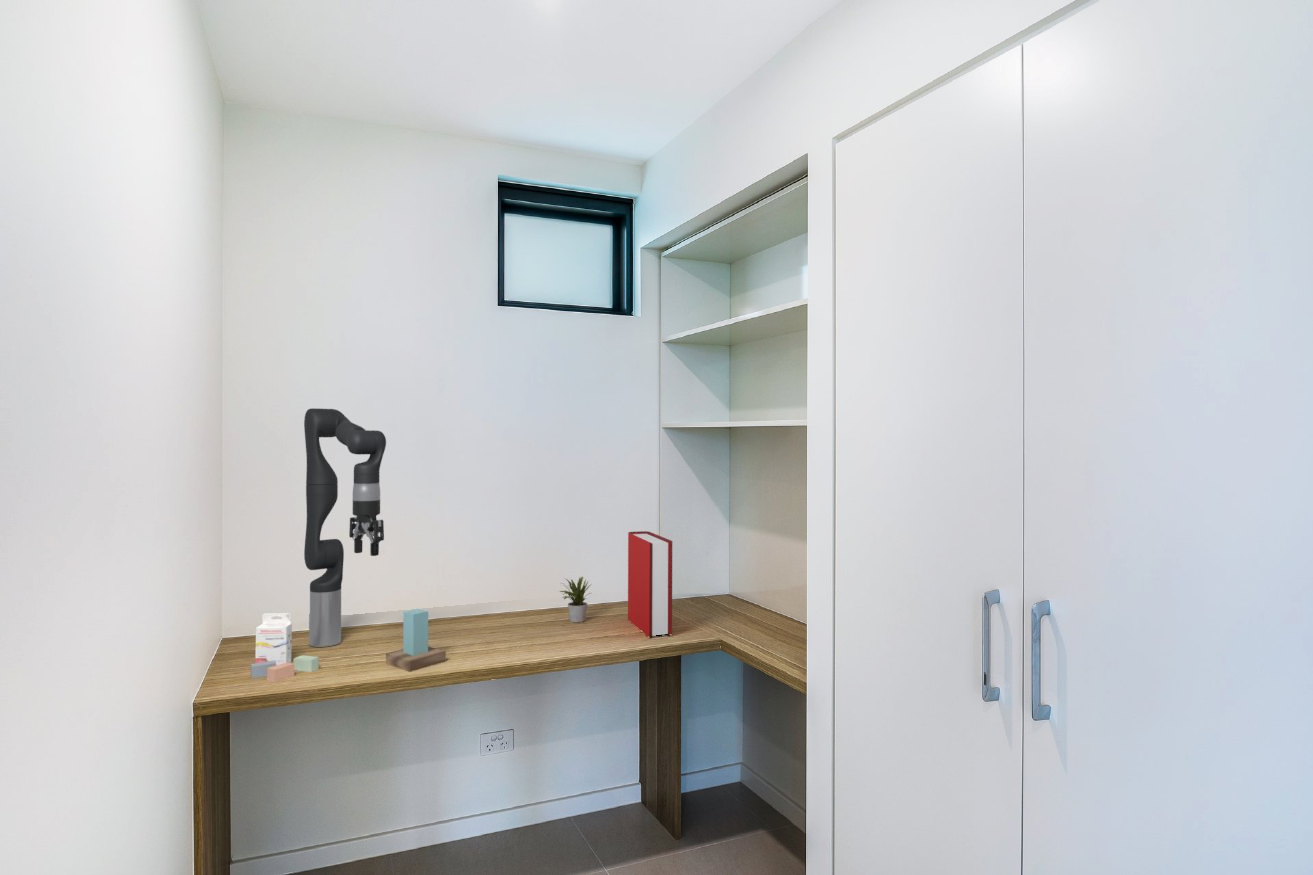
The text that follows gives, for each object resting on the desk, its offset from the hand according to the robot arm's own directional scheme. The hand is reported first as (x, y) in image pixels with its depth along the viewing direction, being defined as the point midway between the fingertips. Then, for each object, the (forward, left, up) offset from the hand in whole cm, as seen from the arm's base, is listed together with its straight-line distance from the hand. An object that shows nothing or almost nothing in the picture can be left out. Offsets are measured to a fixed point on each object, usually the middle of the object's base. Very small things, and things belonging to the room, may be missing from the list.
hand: (366, 554), depth 215 cm
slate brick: (-13, -23, -32) cm, 42 cm away
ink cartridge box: (-20, -17, -32) cm, 42 cm away
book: (+39, +84, -32) cm, 98 cm away
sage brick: (-9, -13, -32) cm, 36 cm away
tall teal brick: (+10, +10, -29) cm, 32 cm away
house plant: (+12, +76, -32) cm, 83 cm away
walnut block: (+10, +10, -32) cm, 35 cm away
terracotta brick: (-7, -21, -32) cm, 39 cm away
